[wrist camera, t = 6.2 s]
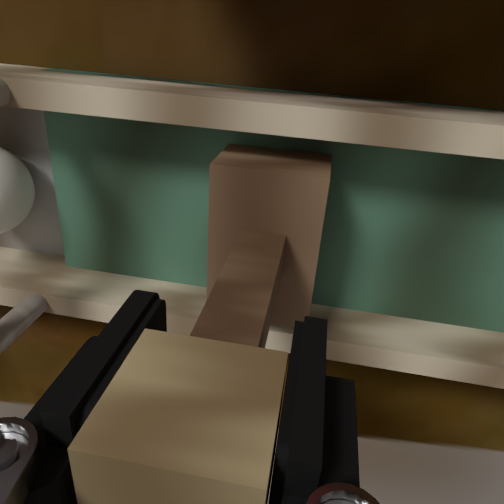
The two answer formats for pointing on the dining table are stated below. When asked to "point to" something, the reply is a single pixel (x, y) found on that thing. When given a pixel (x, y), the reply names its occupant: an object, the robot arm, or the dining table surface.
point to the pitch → (197, 207)
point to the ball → (14, 191)
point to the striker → (215, 349)
